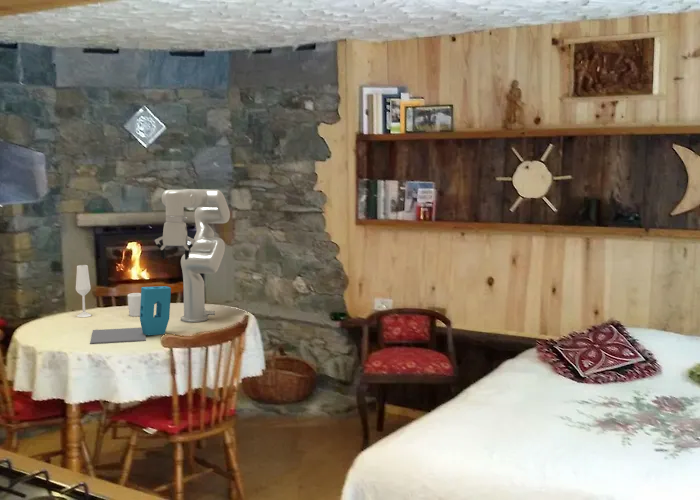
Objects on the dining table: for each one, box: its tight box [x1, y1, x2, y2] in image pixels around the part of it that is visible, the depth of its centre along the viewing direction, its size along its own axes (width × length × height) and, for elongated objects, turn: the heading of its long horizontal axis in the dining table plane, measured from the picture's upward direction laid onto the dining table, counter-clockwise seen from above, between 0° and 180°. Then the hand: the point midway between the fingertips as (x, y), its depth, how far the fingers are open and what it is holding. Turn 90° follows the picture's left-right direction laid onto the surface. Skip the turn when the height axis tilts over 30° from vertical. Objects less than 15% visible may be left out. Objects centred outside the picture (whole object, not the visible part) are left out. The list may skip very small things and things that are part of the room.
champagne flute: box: [75, 264, 92, 318], centre depth 360 cm, size 7×7×24 cm
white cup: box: [127, 292, 141, 317], centre depth 363 cm, size 8×8×10 cm
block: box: [139, 285, 172, 336], centre depth 326 cm, size 12×5×20 cm, turn 130°
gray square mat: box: [89, 327, 147, 345], centre depth 324 cm, size 22×22×1 cm
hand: (175, 259), depth 330 cm, fingers open, 9 cm apart
